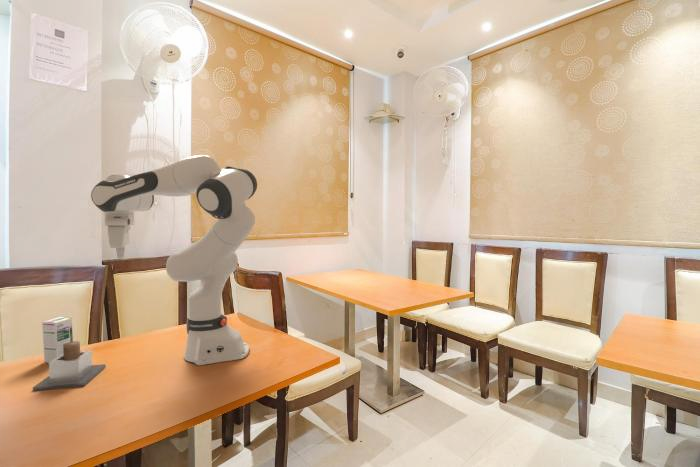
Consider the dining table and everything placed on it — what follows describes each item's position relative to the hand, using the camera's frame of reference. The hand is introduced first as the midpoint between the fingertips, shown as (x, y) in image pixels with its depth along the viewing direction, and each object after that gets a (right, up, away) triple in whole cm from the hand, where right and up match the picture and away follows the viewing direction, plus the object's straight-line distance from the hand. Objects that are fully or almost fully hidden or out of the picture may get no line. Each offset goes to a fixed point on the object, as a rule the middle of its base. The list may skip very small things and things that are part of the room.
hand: (120, 258), depth 124 cm
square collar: (-3, -36, -18) cm, 41 cm away
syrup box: (-18, -36, -5) cm, 40 cm away
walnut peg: (-3, -35, -18) cm, 40 cm away
